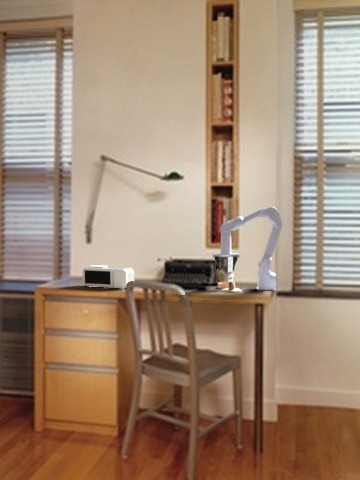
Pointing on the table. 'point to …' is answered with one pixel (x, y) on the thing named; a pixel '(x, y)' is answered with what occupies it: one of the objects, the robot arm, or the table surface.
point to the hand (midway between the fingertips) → (226, 270)
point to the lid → (231, 288)
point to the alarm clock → (107, 276)
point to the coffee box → (225, 270)
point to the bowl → (224, 285)
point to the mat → (227, 292)
